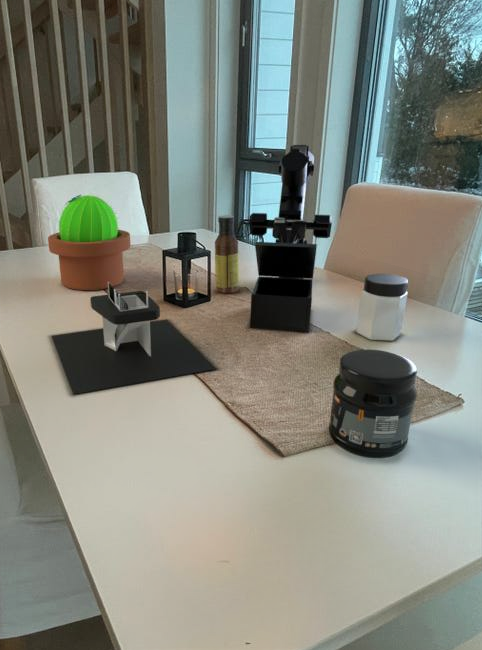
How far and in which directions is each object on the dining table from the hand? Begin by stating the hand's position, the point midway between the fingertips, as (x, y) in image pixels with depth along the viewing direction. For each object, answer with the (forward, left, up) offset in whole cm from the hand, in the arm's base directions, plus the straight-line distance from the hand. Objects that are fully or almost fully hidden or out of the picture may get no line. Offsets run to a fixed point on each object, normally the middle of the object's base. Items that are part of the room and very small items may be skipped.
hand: (286, 256), depth 117 cm
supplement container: (+45, +31, -14) cm, 56 cm away
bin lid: (+4, +1, -1) cm, 4 cm away
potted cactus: (+4, -56, -14) cm, 58 cm away
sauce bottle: (-8, -19, -14) cm, 25 cm away
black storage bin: (+5, +2, -13) cm, 14 cm away
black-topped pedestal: (+38, -17, -14) cm, 44 cm away
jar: (+3, +23, -14) cm, 27 cm away
